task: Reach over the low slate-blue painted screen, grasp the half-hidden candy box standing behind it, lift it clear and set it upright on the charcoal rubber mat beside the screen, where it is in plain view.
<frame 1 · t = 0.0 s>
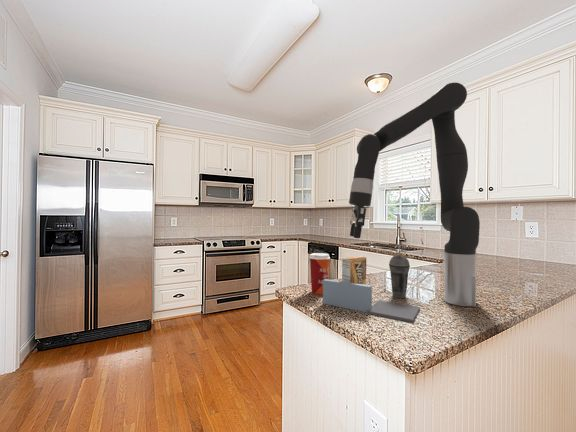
hand: (354, 237, 97), 22 cm above the table, tool pointing down, fingers open, 8 cm apart
mat: (394, 311, 85), on the table
screen: (346, 307, 89), on the table
coffee cup: (319, 293, 106), on the table
candy box: (354, 301, 96), on the table
beverage cup: (399, 296, 102), on the table
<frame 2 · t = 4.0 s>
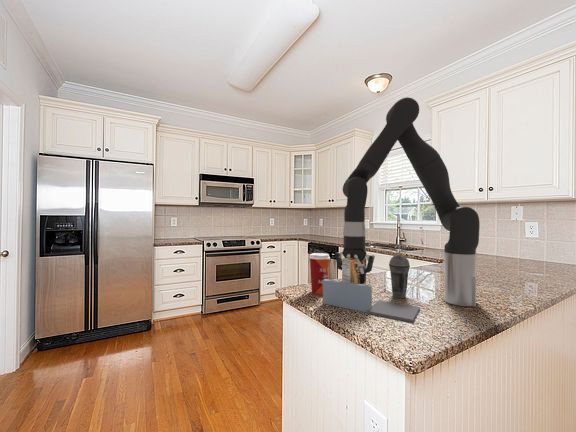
hand: (354, 282, 96), 6 cm above the table, tool pointing down, fingers closed on candy box, 5 cm apart
candy box: (354, 301, 96), on the table, touching gripper
everything else where it was.
when the fingers open (8 cm above the table, at t = 11.9 s): candy box drops 1 cm, resting on mat.
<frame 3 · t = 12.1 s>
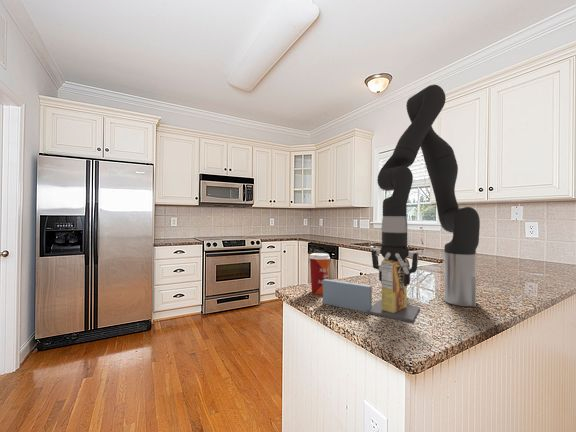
hand: (394, 283, 85), 9 cm above the table, tool pointing down, fingers open, 6 cm apart
candy box: (394, 309, 85), point 1 cm above the table, touching mat
everything else where it was.
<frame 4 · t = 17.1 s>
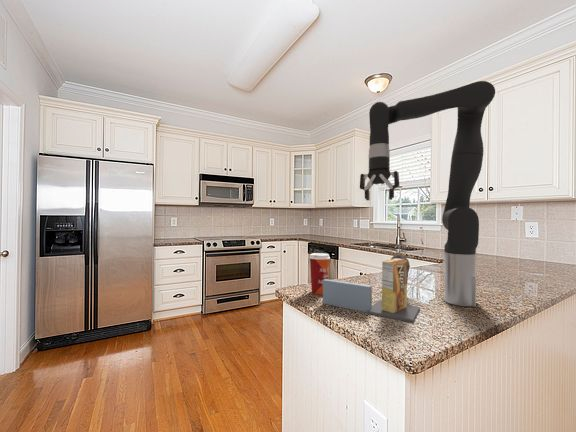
hand: (378, 200, 104), 36 cm above the table, tool pointing down, fingers open, 8 cm apart
nothing on the table moved.
at the end: candy box inside the target area on the mat (0.2 cm from its centre), point 0.6 cm above the mat's base; candy box tilted 0°; the gripper is holding nothing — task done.
